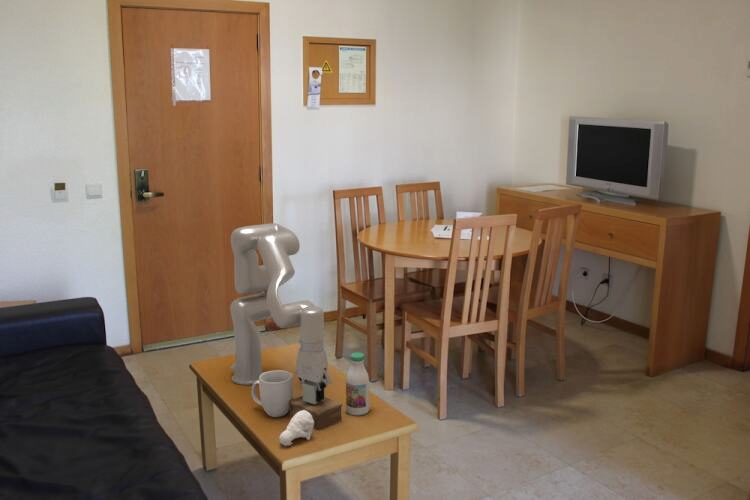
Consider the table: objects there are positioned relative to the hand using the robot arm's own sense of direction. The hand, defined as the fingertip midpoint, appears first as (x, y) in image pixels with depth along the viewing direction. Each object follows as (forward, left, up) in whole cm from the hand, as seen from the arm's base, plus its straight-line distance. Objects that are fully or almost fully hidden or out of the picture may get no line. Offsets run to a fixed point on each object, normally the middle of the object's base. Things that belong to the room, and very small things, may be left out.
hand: (313, 397), depth 235 cm
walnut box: (0, 0, -8) cm, 8 cm away
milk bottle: (+8, +13, -8) cm, 17 cm away
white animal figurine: (+5, -15, -8) cm, 18 cm away
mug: (-14, -4, -8) cm, 16 cm away
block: (0, 0, -1) cm, 1 cm away
